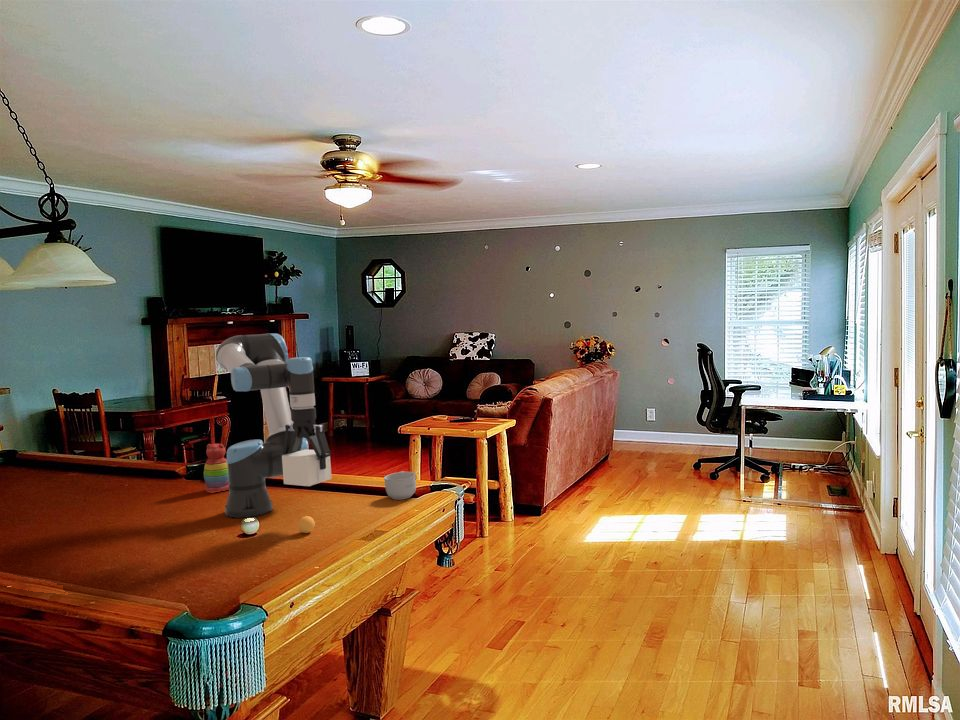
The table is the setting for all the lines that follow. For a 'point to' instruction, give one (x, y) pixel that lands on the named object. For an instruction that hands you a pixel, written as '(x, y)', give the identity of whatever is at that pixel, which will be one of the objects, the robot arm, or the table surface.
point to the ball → (306, 524)
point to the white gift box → (303, 468)
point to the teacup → (400, 485)
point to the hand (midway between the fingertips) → (308, 478)
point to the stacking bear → (216, 468)
